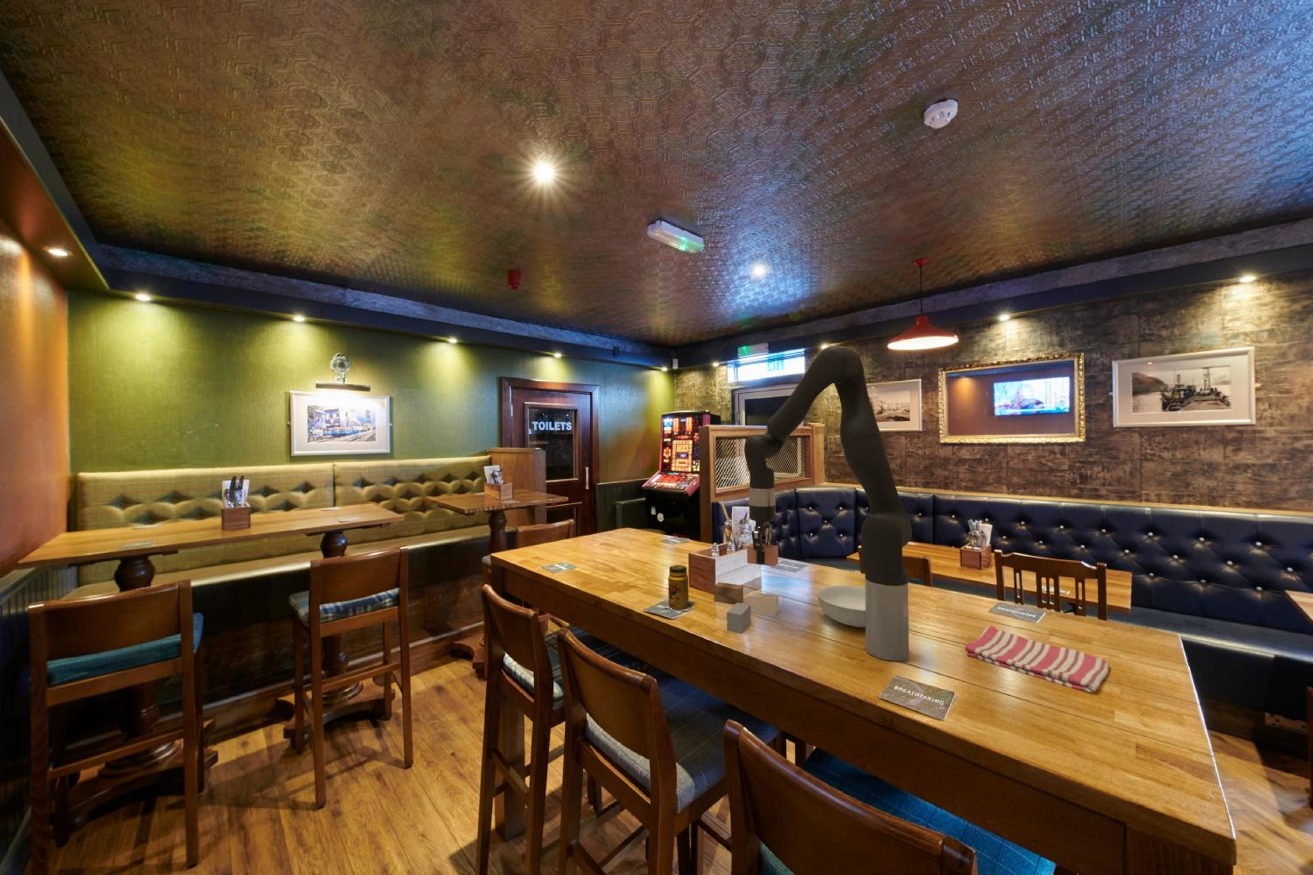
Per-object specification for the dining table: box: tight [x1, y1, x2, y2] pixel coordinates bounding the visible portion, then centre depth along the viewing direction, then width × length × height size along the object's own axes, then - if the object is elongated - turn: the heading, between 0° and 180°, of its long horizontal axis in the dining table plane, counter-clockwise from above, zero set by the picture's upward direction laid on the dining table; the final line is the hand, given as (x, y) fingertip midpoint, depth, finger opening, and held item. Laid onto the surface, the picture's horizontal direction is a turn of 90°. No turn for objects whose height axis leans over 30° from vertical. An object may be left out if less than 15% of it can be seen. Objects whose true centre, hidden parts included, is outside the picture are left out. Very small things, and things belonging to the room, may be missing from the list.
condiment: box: [666, 564, 696, 612], centre depth 146 cm, size 7×8×12 cm
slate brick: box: [726, 602, 752, 634], centre depth 130 cm, size 8×4×5 cm, turn 152°
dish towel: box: [964, 625, 1110, 694], centre depth 108 cm, size 17×23×4 cm
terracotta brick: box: [746, 542, 779, 567], centre depth 139 cm, size 8×4×5 cm, turn 62°
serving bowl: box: [817, 584, 865, 629], centre depth 132 cm, size 21×21×7 cm
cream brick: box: [747, 591, 780, 617], centre depth 140 cm, size 8×4×5 cm, turn 63°
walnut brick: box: [713, 581, 744, 606], centre depth 149 cm, size 8×4×5 cm, turn 62°
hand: (762, 561), depth 139 cm, fingers closed on terracotta brick, 4 cm apart
